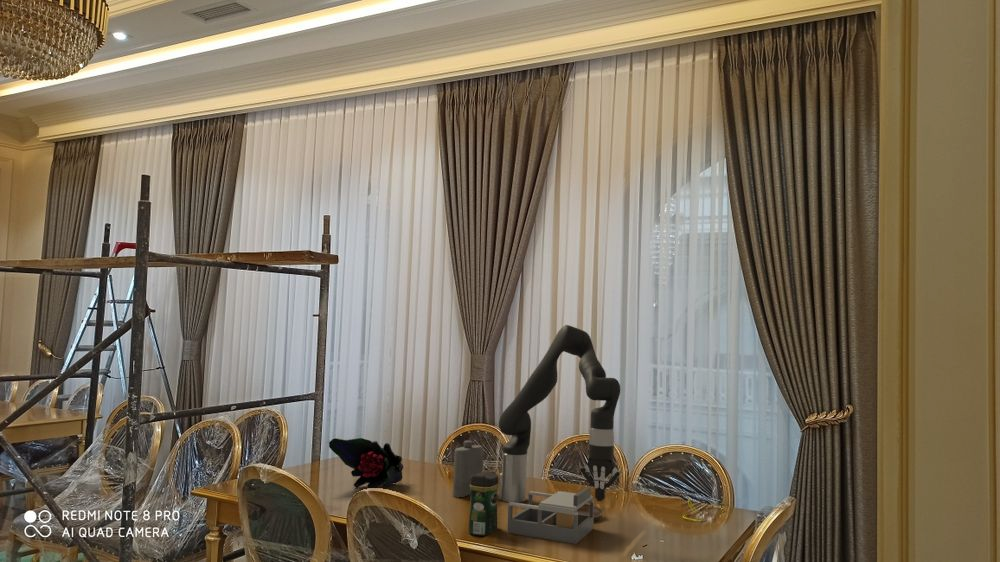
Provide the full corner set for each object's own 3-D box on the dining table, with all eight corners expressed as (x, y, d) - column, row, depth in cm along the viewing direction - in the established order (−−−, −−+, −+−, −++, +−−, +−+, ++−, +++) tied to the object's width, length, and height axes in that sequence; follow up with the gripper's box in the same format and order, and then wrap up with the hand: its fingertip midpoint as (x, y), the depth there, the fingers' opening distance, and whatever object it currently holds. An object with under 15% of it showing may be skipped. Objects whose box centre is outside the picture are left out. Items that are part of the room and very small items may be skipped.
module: (555, 533, 214) (556, 507, 214) (561, 529, 218) (561, 503, 219) (571, 536, 212) (572, 509, 212) (576, 532, 216) (576, 505, 217)
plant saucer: (604, 513, 245) (605, 504, 245) (601, 529, 225) (601, 519, 225) (546, 508, 249) (547, 499, 249) (538, 523, 229) (538, 513, 229)
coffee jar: (478, 527, 221) (480, 468, 223) (500, 530, 218) (502, 470, 219) (463, 534, 213) (466, 473, 214) (487, 538, 209) (489, 476, 211)
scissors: (699, 525, 235) (700, 511, 236) (672, 518, 242) (673, 504, 242) (727, 512, 255) (728, 499, 255) (702, 506, 261) (702, 493, 261)
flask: (472, 489, 273) (474, 438, 275) (484, 492, 270) (486, 439, 272) (448, 496, 261) (450, 442, 262) (460, 498, 258) (462, 444, 259)
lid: (538, 508, 209) (538, 493, 209) (559, 495, 227) (560, 481, 227) (574, 513, 204) (574, 498, 205) (592, 500, 222) (593, 485, 223)
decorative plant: (399, 509, 275) (358, 504, 249) (354, 475, 287) (311, 467, 261) (426, 463, 277) (388, 453, 251) (381, 431, 290) (340, 418, 264)
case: (507, 535, 213) (508, 502, 214) (528, 521, 229) (529, 491, 230) (576, 547, 204) (577, 512, 205) (593, 531, 221) (594, 499, 221)
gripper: (625, 443, 213) (624, 501, 212) (584, 439, 219) (582, 495, 218) (619, 446, 207) (618, 506, 205) (577, 442, 212) (575, 500, 211)
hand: (599, 500), depth 212 cm, fingers closed
